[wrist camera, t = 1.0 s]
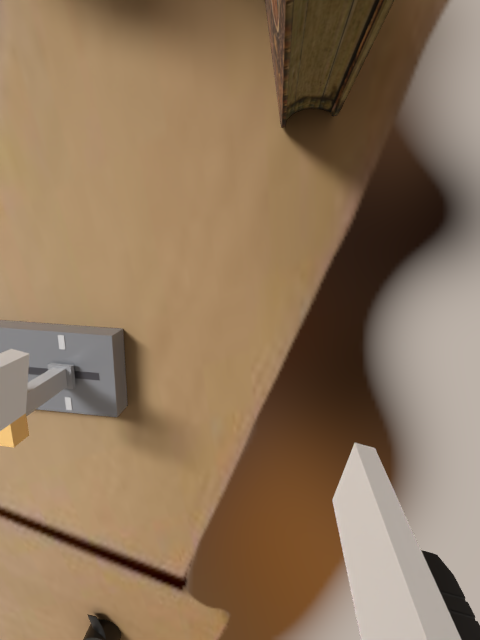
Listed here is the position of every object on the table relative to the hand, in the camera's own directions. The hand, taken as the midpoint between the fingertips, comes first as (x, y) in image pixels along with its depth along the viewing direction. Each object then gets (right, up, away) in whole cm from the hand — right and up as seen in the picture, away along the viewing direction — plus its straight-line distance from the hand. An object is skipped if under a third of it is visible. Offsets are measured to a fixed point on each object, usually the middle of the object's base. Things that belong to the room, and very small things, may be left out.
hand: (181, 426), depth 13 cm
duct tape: (-21, -51, +45) cm, 71 cm away
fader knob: (-20, -3, +28) cm, 34 cm away
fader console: (-27, -1, +32) cm, 42 cm away
